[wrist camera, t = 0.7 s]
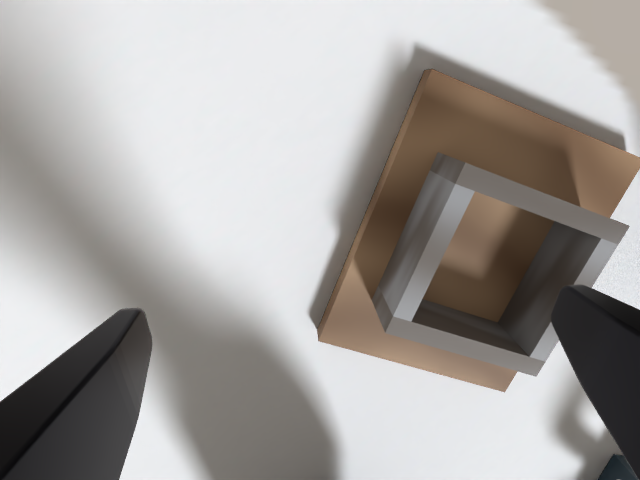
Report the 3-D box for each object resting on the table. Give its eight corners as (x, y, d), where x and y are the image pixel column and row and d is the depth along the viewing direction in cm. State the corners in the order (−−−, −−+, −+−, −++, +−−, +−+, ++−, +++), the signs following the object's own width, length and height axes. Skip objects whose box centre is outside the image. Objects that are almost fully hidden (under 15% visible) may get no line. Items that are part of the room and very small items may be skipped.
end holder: (496, 380, 28) (535, 433, 24) (317, 330, 26) (323, 379, 21) (627, 156, 23) (706, 171, 19) (424, 70, 21) (461, 63, 17)
